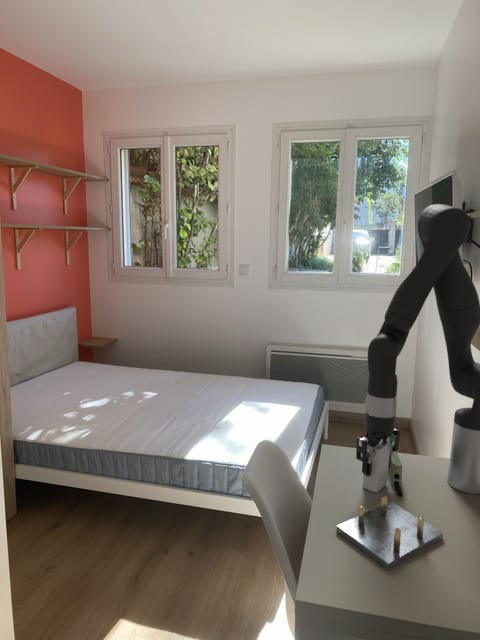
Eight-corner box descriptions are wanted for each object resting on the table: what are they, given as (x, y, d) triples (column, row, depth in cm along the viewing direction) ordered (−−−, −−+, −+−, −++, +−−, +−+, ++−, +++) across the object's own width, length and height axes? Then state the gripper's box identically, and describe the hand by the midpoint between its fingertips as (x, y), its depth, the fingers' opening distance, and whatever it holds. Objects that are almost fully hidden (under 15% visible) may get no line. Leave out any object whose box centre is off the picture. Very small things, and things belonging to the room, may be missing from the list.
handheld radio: (391, 454, 138) (407, 500, 113) (379, 454, 138) (393, 499, 114) (391, 433, 136) (408, 475, 112) (380, 433, 137) (394, 474, 113)
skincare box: (372, 478, 122) (375, 437, 120) (388, 485, 119) (391, 442, 117) (361, 487, 118) (364, 444, 116) (377, 494, 115) (381, 449, 113)
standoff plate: (389, 507, 110) (391, 486, 109) (442, 539, 98) (445, 516, 97) (336, 531, 100) (337, 509, 99) (387, 570, 88) (390, 545, 87)
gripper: (387, 401, 122) (383, 458, 125) (349, 411, 114) (345, 472, 117) (411, 410, 116) (405, 470, 118) (372, 421, 108) (368, 485, 111)
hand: (376, 471), depth 118 cm, fingers closed on skincare box, 6 cm apart
